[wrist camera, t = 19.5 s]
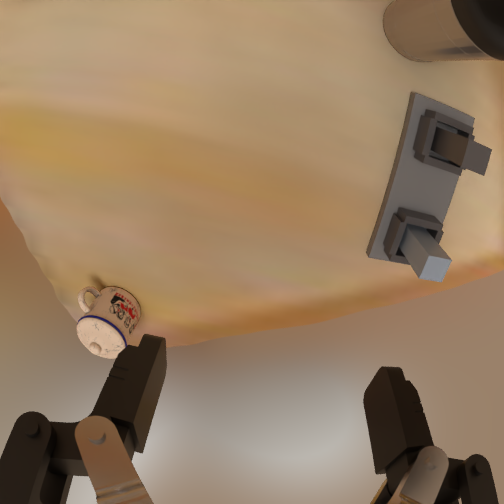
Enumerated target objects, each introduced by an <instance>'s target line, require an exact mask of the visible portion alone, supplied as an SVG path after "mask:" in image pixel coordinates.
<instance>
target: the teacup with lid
mask: <svg viewBox="0 0 504 504" xmlns="http://www.w3.org/2000/svg"><path fill="white" fill-rule="evenodd" d="M86 292H91V293H92V294H93V295H94V296H95V297H96V298H95V300H94V301H93V303H92V304H91V306H90V307H88V305H87V304H86V302H85V299H84V295H85V293H86ZM78 302H79V305H80V307H81V308H82V309H83V311H84V312H85V315H84V316H83V317H82V318H80V320H79V321H78V323H77V334H78V337H79V339H80V340H81V342H82V343H83V344H84V346H85V347H87V348H88V349H89V350H90V352H91V353H93V354H95V355H99V356H101V357H104V358H117V356H118V354H119V353H120V352H121V351H122V350H123V349H124V348H125V347H127V343H128V341H129V339H130V337H131V335H132V333H133V331H134V329H135V326H136V324H137V322H138V320H139V318H140V315H141V311H140V306H139V304H138V302H137V301H136V299H135V298H134V297H133V296H132V295H131V294H130V293H128V292H127V291H125V290H123V289H121V288H117V287H106V288H104V289H102V290H101V291H100V292H99V291H98V290H97V289H96V288H94V287H85V288H83V289H82V290H81V291H80V292H79V294H78Z"/></svg>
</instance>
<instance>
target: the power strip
mask: <svg viewBox="0 0 504 504" xmlns="http://www.w3.org/2000/svg"><path fill="white" fill-rule="evenodd" d="M474 119H475V118H473V117H471V116H469V115H467V114H465V113H463V112H461V111H459V110H456V109H454V108H452V107H449V106H447V105H445V104H442V103H440V102H438V101H435V100H433V99H430V98H428V97H425V96H423V95H420V94H417V93H413V92H411V95H410V100H409V105H408V109H407V114H406V118H405V122H404V126H403V131H402V135H401V139H400V143H399V146H398V150H397V154H396V158H395V162H394V165H393V169H392V172H391V176H390V179H389V183H388V186H387V190H386V193H385V196H384V199H383V203H382V206H381V209H380V212H379V215H378V219H377V222H376V225H375V228H374V231H373V234H372V237H371V240H370V242H369V245H368V248H367V251H366V253H367V255H368V258H374V259H380V260H385V261H391V262H396V263H402V264H408V265H410V263H409V262H408V260H407V259H406V257H405V256H404V254H403V252H402V251H401V249H400V248H399V244H400V242H401V239H402V236H403V234H404V231H405V228H406V225H407V223H408V224H412V225H416V226H420V227H424V228H425V229H426V230H427V231H428V232H429V234H430V235H431V236H432V237H433V238H434V239H435V241H436V242H437V243H438V244H439V242H440V240H441V238H442V235H443V233H444V232H443V231H442V227H443V221H444V219H445V216H446V213H447V210H448V208H449V205H450V202H451V199H452V196H453V193H454V190H455V187H456V184H457V181H458V178H459V176H461V173H462V169H464V170H465V169H469V170H471V171H474V172H476V173H478V174H481V175H483V176H484V175H485V171H486V168H487V165H488V161H489V158H490V154H491V151H492V149H490V148H488V147H486V146H483V145H481V144H479V143H477V142H475V141H474V137H475V136H473V135H472V133H473V129H474V128H473V123H474Z"/></svg>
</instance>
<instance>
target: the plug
mask: <svg viewBox="0 0 504 504" xmlns="http://www.w3.org/2000/svg"><path fill="white" fill-rule="evenodd" d="M399 248H400V249H401V251H402V252H403V254H404V256H405V257H406V259H407V260H408V262H409V263H410V265H411V266H412V268H413V270H414V271H415V273H416V274H417V276H418V278H419V279H425V280H431V281H437V282H442V280H443V278H444V276H445V274H446V272H447V270H448V268H449V265H450V263H451V261H452V260H451V258H450V257H449V256H448V255H447V254H446V252H445V251H444V250H443V249H442V248H441V246H440V245H439V244H438V243H437V242H436V241H435V239H434V238H433V237H432V236H431V235H430V234H429V232H428V231H427V230H426V229H425V228H424V227H420V226H416V225H412V224H408V223H407V225H406V228H405V231H404V234H403V236H402V239H401V242H400V244H399Z"/></svg>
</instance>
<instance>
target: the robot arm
mask: <svg viewBox="0 0 504 504" xmlns="http://www.w3.org/2000/svg"><path fill="white" fill-rule="evenodd" d="M383 25H384V30H385V34H386V36H387V38H388V40H389V42H390V43H391V44H392V46H393V47H394V48H395V49H396V50H397V51H398V52H399V53H400V54H402V55H403V56H404V57H407V58H409V59H411V60H414V61H418V62H432V61H452V60H501V61H504V0H396V1H394V2H393V3H391V4H390V5H389V6H388V7H387V9H386V11H385V13H384V18H383ZM166 368H167V360H166V340H165V338H163V337H158V336H153V335H149V334H144V335H143V337H142V339H141V342H140V344H139V346H138V347H136V346H132V345H128V346H127V347H125V348H124V349H123V350H122V351H121V352H120V353H119V354H118V356H117V358H116V360H115V362H114V364H113V368H112V369H111V371H110V373H109V377H107V380H106V382H105V384H104V386H103V389H102V391H101V393H100V395H99V398H98V400H97V402H96V405H95V407H94V409H93V411H92V413H91V414H90V415H89V416H88V417H86V418H85V419H83V420H81V421H79V422H75V423H63V422H49V420H48V419H47V418H46V417H45V416H44V415H43V414H41V413H38V412H26V413H24V414H23V415H21V416H20V417H19V418H18V419H17V421H16V422H15V424H14V427H13V430H12V431H11V434H10V436H9V439H8V441H7V443H6V446H5V449H4V451H3V454H2V456H1V459H0V504H66V501H67V497H68V493H69V489H70V485H71V482H72V478H73V475H75V476H89V478H90V480H91V482H92V485H93V487H94V490H95V492H96V495H97V497H96V499H97V503H98V504H154V503H153V502H152V500H151V498H150V496H149V494H148V493H147V491H146V489H145V487H144V485H143V484H142V482H141V480H140V478H139V476H138V474H137V472H136V470H135V468H134V466H133V464H132V458H133V455H134V451H136V452H139V453H143V450H144V447H145V443H146V440H147V436H148V433H149V429H150V426H151V422H152V419H153V416H154V412H155V409H156V406H157V402H158V399H159V396H160V393H161V389H162V386H163V382H164V379H165V375H166ZM363 401H364V402H363V403H364V409H365V414H366V419H367V425H368V430H369V436H370V442H371V448H372V453H373V459H374V466H375V473H376V474H385V473H386V477H387V479H386V480H385V481H384V482H383V483H382V485H381V487H380V489H379V490H378V492H377V494H376V495H375V497H374V498H373V500H372V501H371V503H370V504H459V502H458V499H460V498H461V500H462V504H499V503H498V498H497V494H496V489H495V484H494V480H493V476H492V472H491V468H490V465H489V463H488V461H487V459H486V458H484V457H483V456H482V455H479V454H474V455H472V456H470V457H469V458H467V459H466V460H465V461H464V460H458V459H452V458H448V457H447V456H446V454H445V452H444V451H443V450H442V449H440V448H438V447H436V446H434V444H433V441H432V437H431V434H430V430H429V427H428V423H427V420H426V417H425V414H424V413H423V407H422V404H420V402H421V401H420V398H419V395H418V392H417V390H416V389H415V387H414V386H413V384H412V383H411V382H410V381H406V380H405V377H404V374H403V371H402V369H401V368H400V367H381V368H380V369H379V370H378V372H377V373H376V375H375V376H374V378H373V380H372V381H371V383H370V384H369V386H368V387H367V389H366V391H365V393H364V399H363Z"/></svg>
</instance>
